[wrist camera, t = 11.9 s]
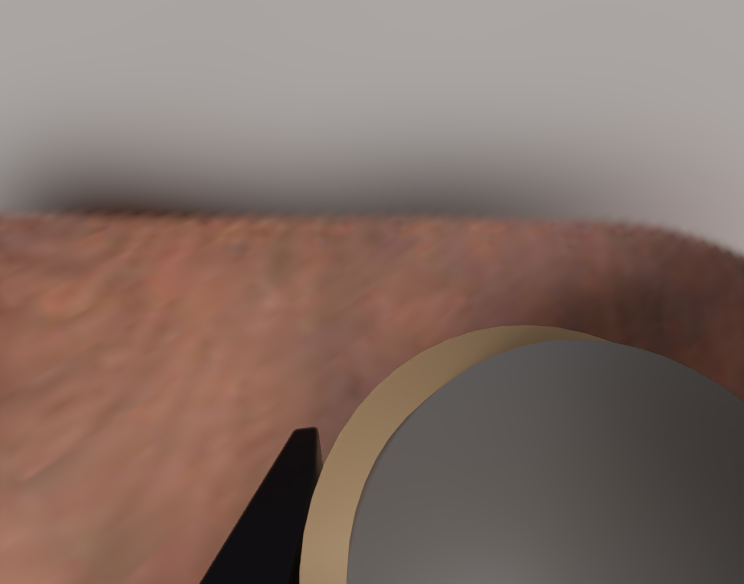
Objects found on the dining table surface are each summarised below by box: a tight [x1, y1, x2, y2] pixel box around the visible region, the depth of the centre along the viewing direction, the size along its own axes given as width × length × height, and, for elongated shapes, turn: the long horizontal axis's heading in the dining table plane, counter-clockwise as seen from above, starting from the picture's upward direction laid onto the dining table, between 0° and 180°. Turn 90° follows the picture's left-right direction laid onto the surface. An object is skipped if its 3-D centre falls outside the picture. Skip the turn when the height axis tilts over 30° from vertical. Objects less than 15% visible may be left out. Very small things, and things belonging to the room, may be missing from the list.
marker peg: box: [299, 325, 744, 584], centre depth 9 cm, size 4×4×12 cm
